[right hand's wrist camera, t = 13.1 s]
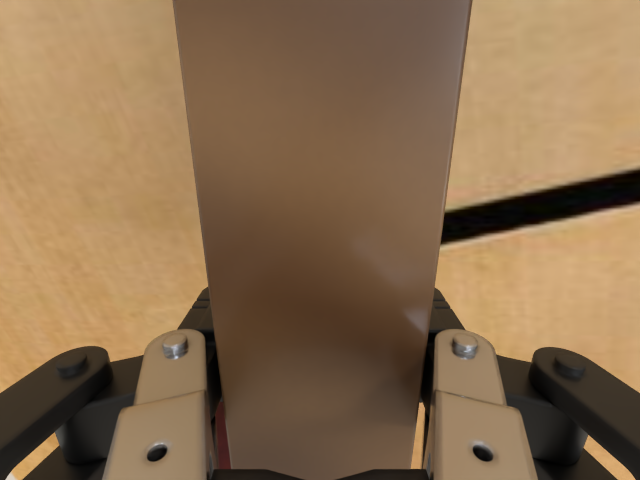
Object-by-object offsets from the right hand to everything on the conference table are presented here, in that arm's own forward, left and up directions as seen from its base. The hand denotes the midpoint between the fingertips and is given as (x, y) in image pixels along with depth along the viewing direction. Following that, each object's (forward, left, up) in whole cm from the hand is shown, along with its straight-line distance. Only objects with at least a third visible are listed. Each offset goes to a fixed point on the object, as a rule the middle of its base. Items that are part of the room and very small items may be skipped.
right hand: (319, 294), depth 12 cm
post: (+30, -22, -2) cm, 37 cm away
